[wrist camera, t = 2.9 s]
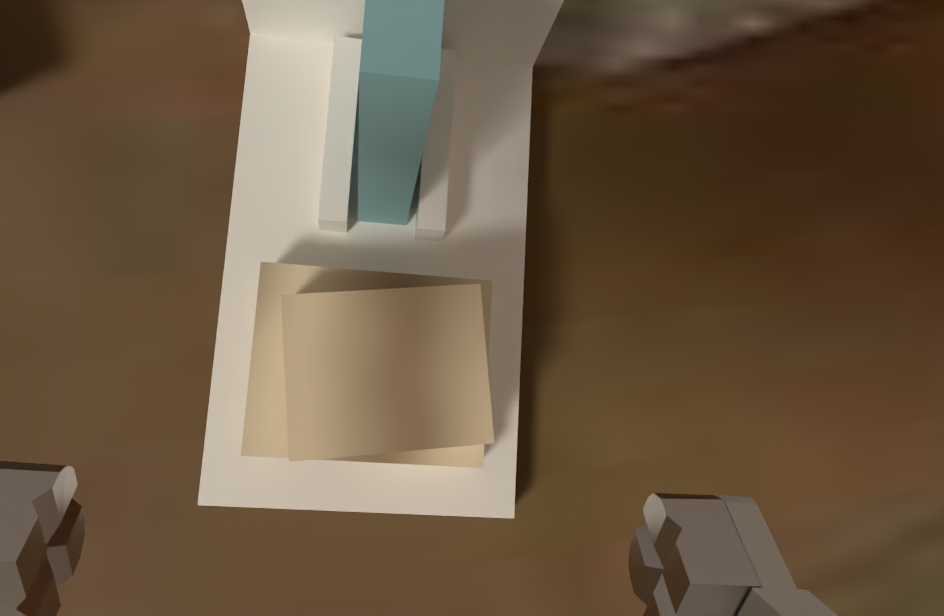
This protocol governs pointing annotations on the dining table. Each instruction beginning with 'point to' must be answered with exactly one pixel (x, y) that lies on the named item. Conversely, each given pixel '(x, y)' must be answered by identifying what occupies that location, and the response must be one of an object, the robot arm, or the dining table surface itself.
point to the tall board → (395, 102)
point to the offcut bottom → (267, 358)
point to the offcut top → (385, 371)
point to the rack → (376, 231)
